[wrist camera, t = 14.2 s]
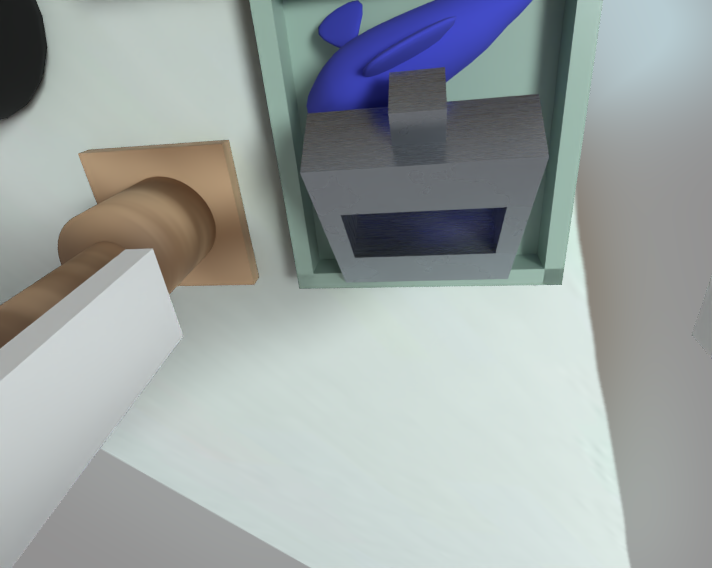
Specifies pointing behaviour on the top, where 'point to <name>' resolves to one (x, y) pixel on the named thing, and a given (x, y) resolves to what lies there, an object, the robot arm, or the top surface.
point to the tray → (476, 81)
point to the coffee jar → (20, 53)
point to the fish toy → (403, 47)
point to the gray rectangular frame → (425, 181)
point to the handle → (149, 224)
